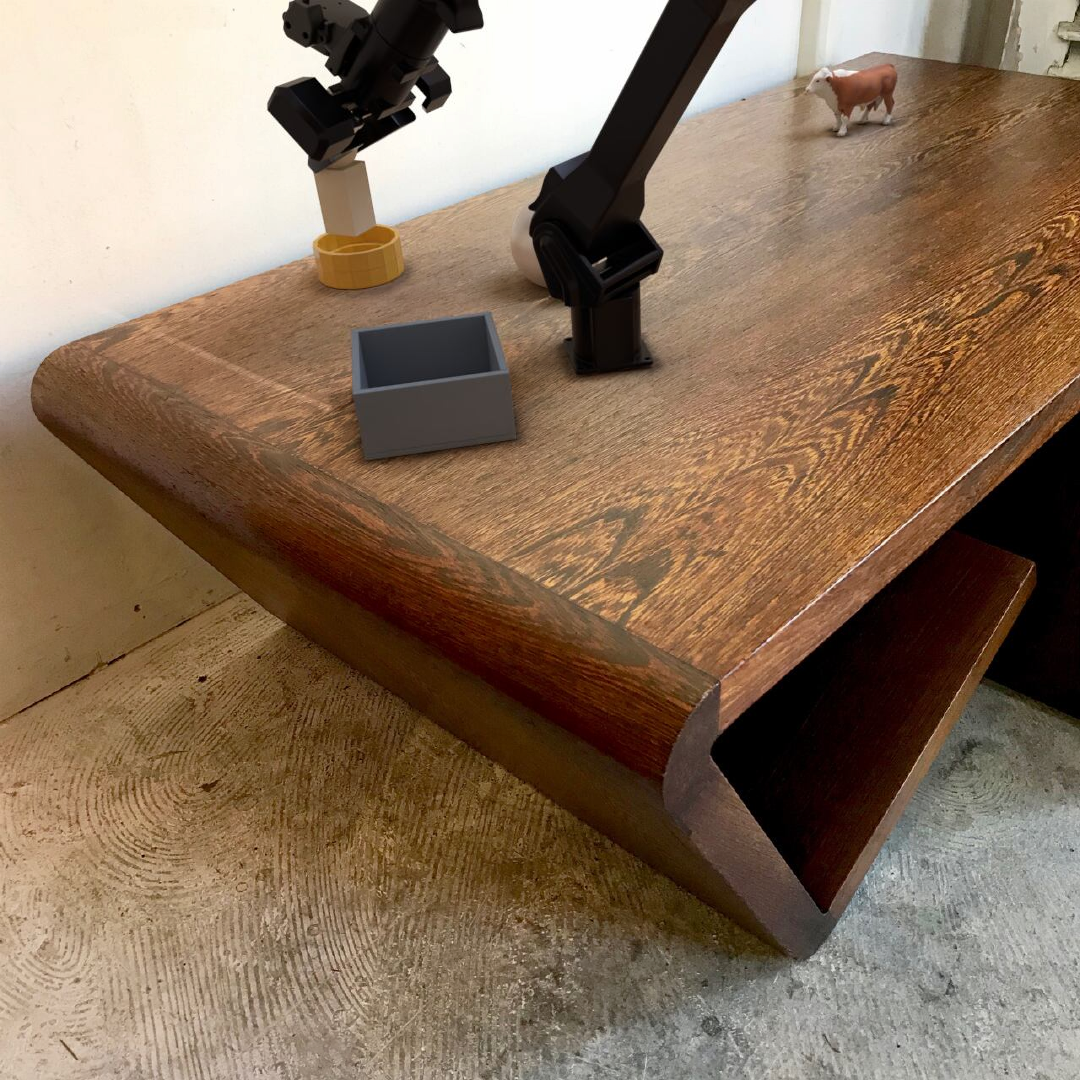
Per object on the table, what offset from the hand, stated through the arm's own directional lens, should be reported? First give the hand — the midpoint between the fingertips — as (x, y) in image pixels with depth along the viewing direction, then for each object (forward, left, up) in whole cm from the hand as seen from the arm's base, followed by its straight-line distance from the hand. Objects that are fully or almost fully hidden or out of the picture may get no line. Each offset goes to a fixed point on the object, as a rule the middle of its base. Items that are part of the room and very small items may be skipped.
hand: (327, 162), depth 96 cm
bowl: (+4, -1, -13) cm, 13 cm away
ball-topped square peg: (-1, -1, -6) cm, 6 cm away
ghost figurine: (-5, -20, -13) cm, 25 cm away
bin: (-27, -6, -13) cm, 30 cm away
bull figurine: (+34, -65, -13) cm, 75 cm away
